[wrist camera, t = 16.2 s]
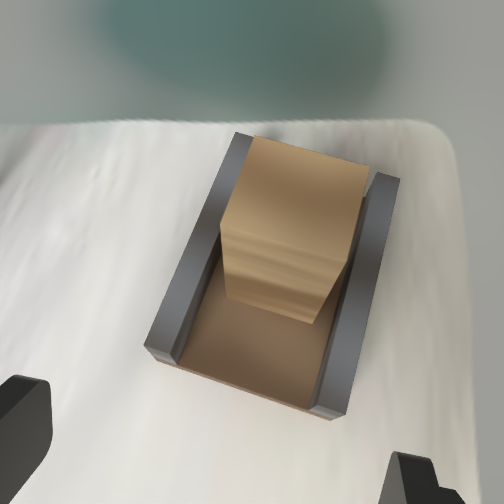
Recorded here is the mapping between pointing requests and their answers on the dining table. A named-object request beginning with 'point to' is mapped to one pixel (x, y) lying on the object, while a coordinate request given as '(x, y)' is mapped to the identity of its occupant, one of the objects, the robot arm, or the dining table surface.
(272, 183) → the oak block
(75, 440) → the dining table surface
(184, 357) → the walnut track
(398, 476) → the robot arm
